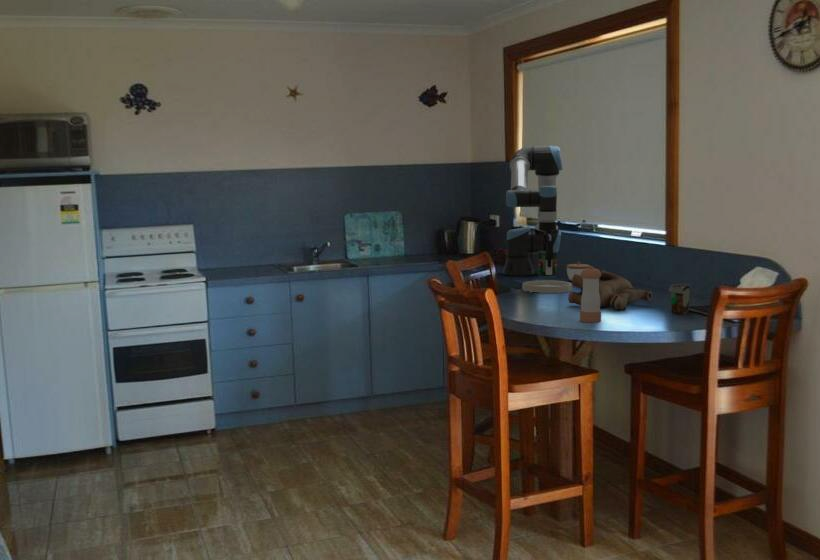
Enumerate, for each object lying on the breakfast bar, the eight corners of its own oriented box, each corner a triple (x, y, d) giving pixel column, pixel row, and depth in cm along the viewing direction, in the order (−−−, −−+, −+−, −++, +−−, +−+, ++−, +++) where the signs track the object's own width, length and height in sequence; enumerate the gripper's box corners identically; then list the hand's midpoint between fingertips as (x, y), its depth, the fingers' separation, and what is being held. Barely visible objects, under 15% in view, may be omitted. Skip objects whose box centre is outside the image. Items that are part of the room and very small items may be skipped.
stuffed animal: (567, 270, 325) (628, 283, 309) (604, 269, 349) (662, 281, 333) (562, 303, 327) (622, 317, 311) (599, 299, 351) (656, 313, 335)
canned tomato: (559, 276, 371) (560, 251, 369) (543, 277, 368) (543, 252, 367) (550, 274, 378) (550, 250, 377) (534, 275, 376) (535, 250, 374)
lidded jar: (591, 283, 395) (591, 262, 393) (568, 283, 395) (568, 263, 394) (587, 280, 405) (587, 260, 404) (564, 280, 405) (565, 260, 404)
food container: (672, 309, 320) (673, 282, 318) (689, 310, 316) (690, 283, 315) (664, 314, 309) (665, 286, 308) (681, 315, 306) (682, 287, 305)
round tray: (519, 286, 384) (519, 280, 384) (566, 286, 385) (566, 280, 384) (526, 293, 364) (526, 287, 363) (575, 292, 364) (575, 286, 363)
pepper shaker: (591, 323, 293) (591, 267, 290) (575, 320, 299) (576, 266, 296) (605, 320, 297) (606, 266, 294) (589, 318, 303) (590, 264, 300)
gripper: (535, 220, 380) (535, 270, 383) (543, 222, 360) (542, 276, 363) (552, 220, 380) (551, 270, 383) (560, 222, 360) (560, 276, 363)
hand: (547, 273), depth 373 cm, fingers closed on canned tomato, 8 cm apart
